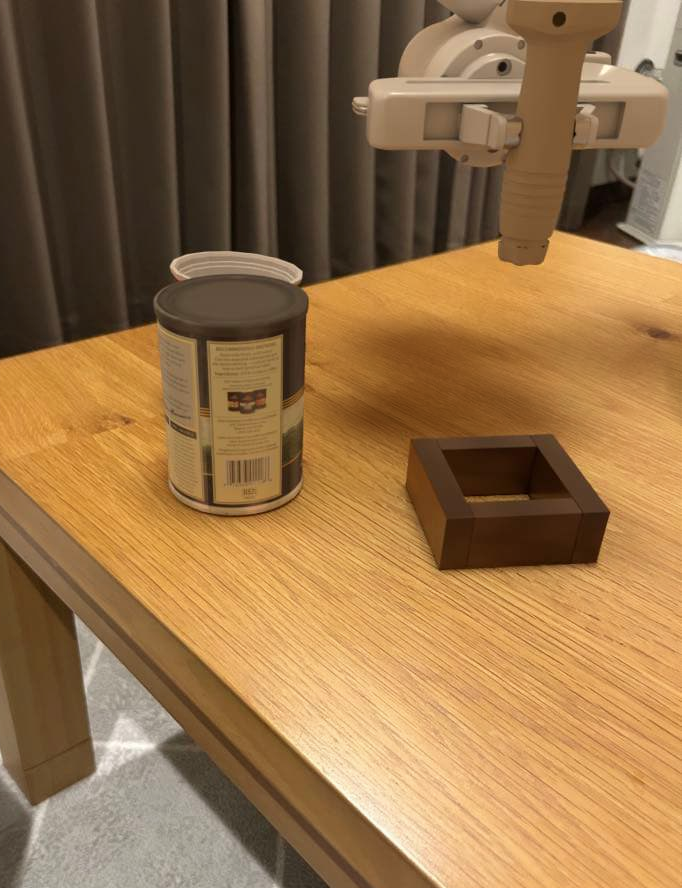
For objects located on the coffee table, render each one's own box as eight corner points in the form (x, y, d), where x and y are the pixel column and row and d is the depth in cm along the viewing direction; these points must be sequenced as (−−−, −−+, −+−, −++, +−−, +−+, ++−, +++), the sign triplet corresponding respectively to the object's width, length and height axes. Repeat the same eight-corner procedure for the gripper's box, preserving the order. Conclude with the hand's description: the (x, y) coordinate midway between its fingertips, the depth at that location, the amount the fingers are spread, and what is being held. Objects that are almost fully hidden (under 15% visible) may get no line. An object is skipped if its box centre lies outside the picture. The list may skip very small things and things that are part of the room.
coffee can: (248, 435, 71) (246, 263, 63) (331, 486, 65) (341, 301, 57) (140, 473, 66) (123, 291, 58) (219, 533, 59) (212, 337, 51)
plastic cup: (323, 409, 75) (329, 272, 68) (212, 438, 71) (207, 294, 64) (261, 365, 83) (261, 238, 76) (158, 389, 78) (148, 255, 72)
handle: (567, 276, 56) (622, 3, 47) (467, 265, 58) (503, 0, 49) (572, 255, 60) (623, -1, 51) (478, 246, 61) (513, -4, 53)
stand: (542, 480, 66) (552, 433, 63) (596, 562, 57) (610, 511, 55) (405, 485, 65) (410, 438, 63) (439, 569, 56) (446, 518, 54)
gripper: (350, 51, 62) (385, 77, 51) (625, 51, 63) (720, 76, 52) (345, 146, 66) (377, 190, 54) (606, 144, 67) (690, 186, 56)
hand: (548, 134), depth 53 cm, fingers closed on handle, 3 cm apart
